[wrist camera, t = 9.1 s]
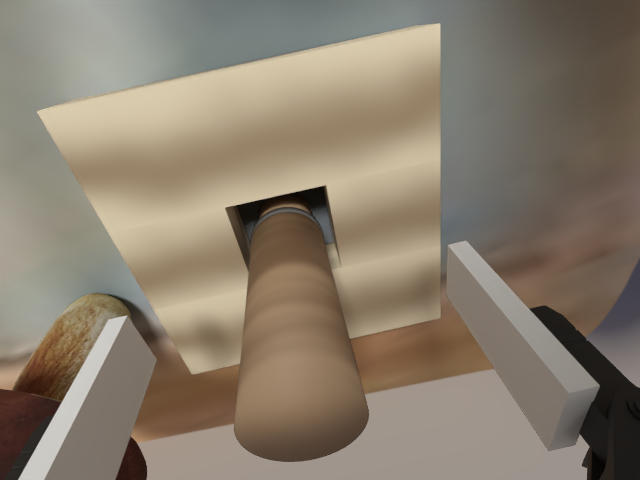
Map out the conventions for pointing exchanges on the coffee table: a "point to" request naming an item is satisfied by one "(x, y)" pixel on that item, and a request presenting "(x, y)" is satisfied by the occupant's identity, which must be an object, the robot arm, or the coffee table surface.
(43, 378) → the decorative mushroom
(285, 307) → the peg
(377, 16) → the coffee table surface
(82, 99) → the board
